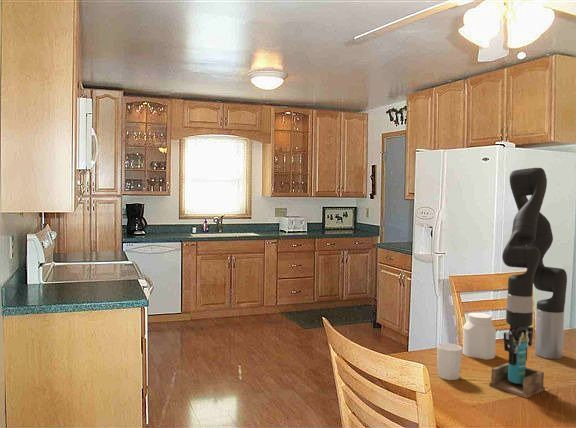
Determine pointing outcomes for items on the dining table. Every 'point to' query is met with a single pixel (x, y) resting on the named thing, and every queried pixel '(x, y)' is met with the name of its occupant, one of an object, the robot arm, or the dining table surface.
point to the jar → (479, 336)
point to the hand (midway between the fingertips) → (517, 362)
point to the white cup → (449, 361)
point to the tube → (518, 364)
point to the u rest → (526, 390)
